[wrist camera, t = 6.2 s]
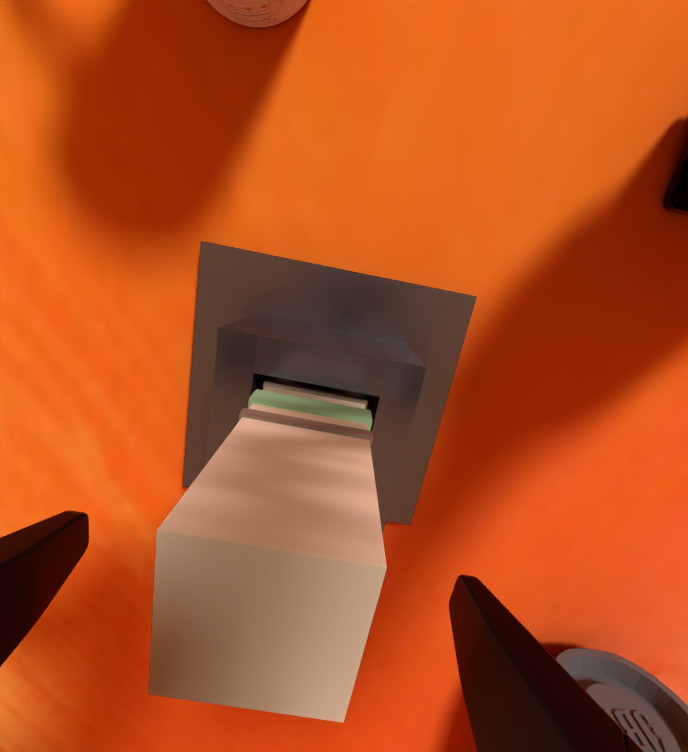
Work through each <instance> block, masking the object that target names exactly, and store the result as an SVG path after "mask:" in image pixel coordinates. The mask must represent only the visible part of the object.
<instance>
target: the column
mask: <svg viewBox="0 0 688 752" xmlns="http://www.w3.org/2000/svg"><path fill="white" fill-rule="evenodd" d="M367 403H368V402H367V398H363V397H358V396H352V395H347V394H341V393H336V392H331V391H325V390H320V389H315V388H309V387H304V386H299V385H293V384H288V383H282V382H277V381H272V380H266V381H265V382H264V384H263V390H258V389H256V390H255V391H254V393H253V394H252V395H251V396H250V398H249V402H248V408H243V410H242V411H241V412H240V413H239V420H238V423H237V425H236V426H235V427H234V429H233V430H232V431H231V433H230V434H229V435H228V437H227V438H226V439H225V441H224V442H223V443H222V445H221V446H220V447H219V449H218V450H217V451H216V452H215V454H214V455H213V456H212V458H211V459H210V460H209V462H208V463H207V464H206V466H205V467H204V468H203V470H202V471H201V472H200V474H199V475H198V476H197V478H196V479H195V480H194V482H193V483H192V484H191V486H190V487H189V488H188V490H187V491H186V492H185V494H184V495H183V496H182V497H181V499H180V500H179V501H178V503H177V504H176V505H175V507H174V508H173V509H172V511H171V512H170V513H169V515H168V516H167V517H166V519H165V520H164V521H163V523H162V524H161V525H160V527H159V528H158V529H157V535H156V554H155V573H154V592H153V611H152V630H151V648H150V667H149V686H148V694H149V695H156V696H163V697H170V698H177V699H184V700H191V701H198V702H204V703H211V704H218V705H225V706H232V707H239V708H246V709H253V710H260V711H267V712H274V713H280V714H287V715H294V716H301V717H308V718H315V719H322V720H329V721H336V722H343V723H344V719H345V716H346V712H347V709H348V705H349V702H350V698H351V695H352V691H353V687H354V684H355V680H356V677H357V673H358V670H359V666H360V662H361V659H362V655H363V652H364V648H365V645H366V641H367V638H368V634H369V630H370V627H371V623H372V620H373V616H374V613H375V609H376V605H377V602H378V598H379V595H380V591H381V588H382V584H383V581H384V577H385V573H386V570H387V565H386V558H385V550H384V543H383V535H382V528H381V521H380V513H379V506H378V499H377V491H376V484H375V477H374V469H373V462H372V455H371V446H372V442H373V433H372V431H370V429H371V425H372V415H371V410H367V409H366V407H367Z"/></svg>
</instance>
